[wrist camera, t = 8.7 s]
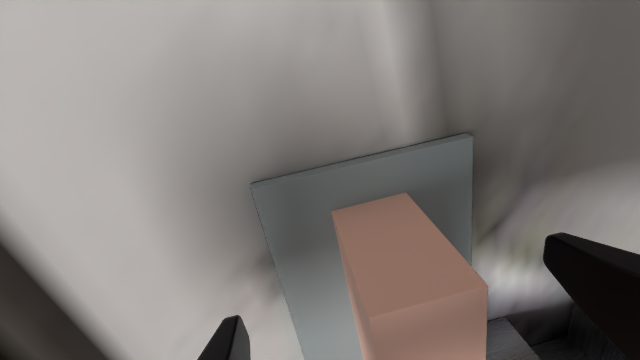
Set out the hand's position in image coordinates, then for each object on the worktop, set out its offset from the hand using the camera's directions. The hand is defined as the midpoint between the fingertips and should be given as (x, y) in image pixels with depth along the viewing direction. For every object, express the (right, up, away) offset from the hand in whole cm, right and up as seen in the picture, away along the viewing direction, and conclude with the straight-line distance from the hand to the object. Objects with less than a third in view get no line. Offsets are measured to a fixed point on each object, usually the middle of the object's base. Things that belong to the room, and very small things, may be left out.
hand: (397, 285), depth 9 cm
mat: (0, -2, +4) cm, 4 cm away
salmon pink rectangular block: (0, -2, +3) cm, 4 cm away
